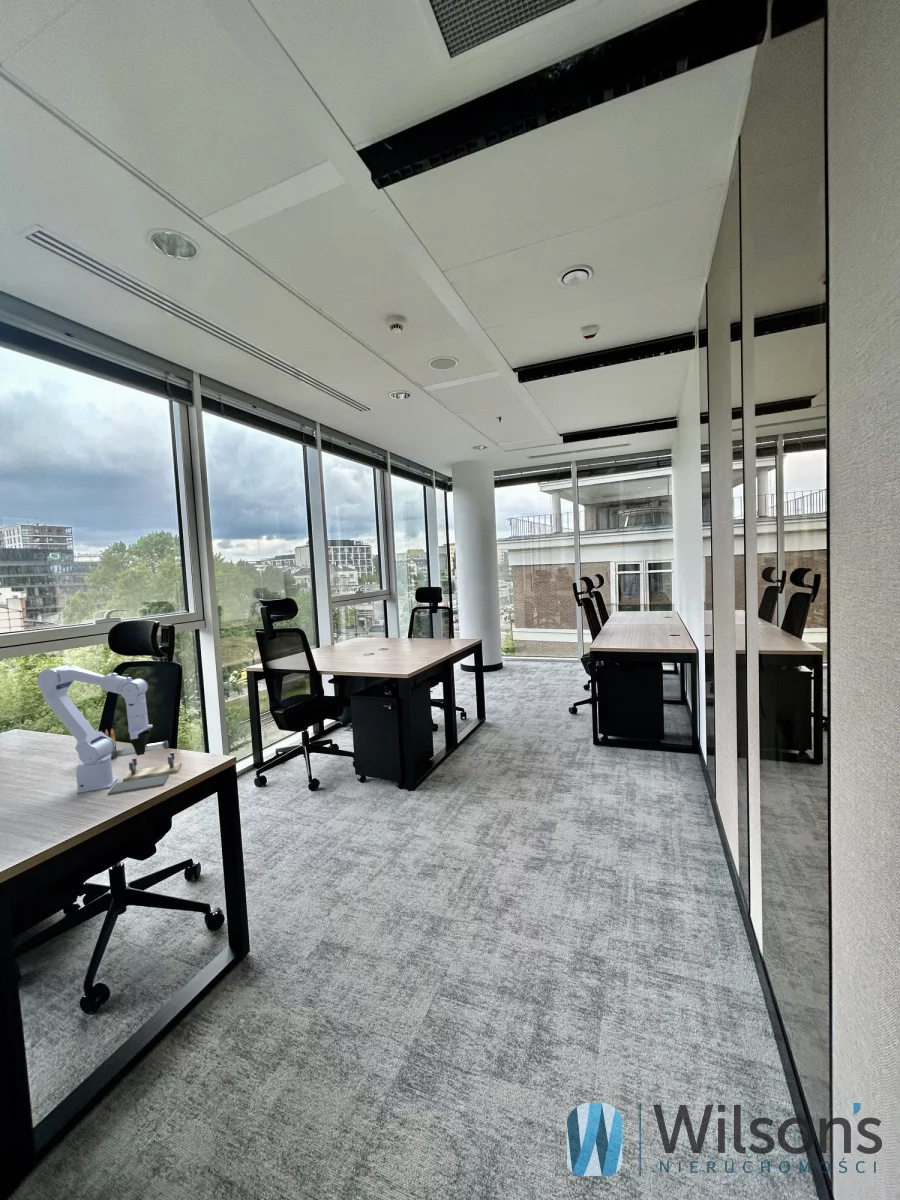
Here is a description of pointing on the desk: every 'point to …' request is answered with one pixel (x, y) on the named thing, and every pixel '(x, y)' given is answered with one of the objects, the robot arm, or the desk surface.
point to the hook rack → (151, 769)
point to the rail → (147, 748)
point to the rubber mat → (138, 784)
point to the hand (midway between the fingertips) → (141, 753)
